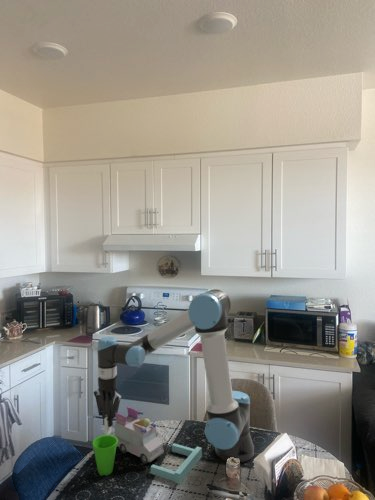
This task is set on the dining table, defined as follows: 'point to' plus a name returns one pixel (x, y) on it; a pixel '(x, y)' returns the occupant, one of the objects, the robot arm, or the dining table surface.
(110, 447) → the cup
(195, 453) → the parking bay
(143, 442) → the toy vehicle
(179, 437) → the dining table surface
